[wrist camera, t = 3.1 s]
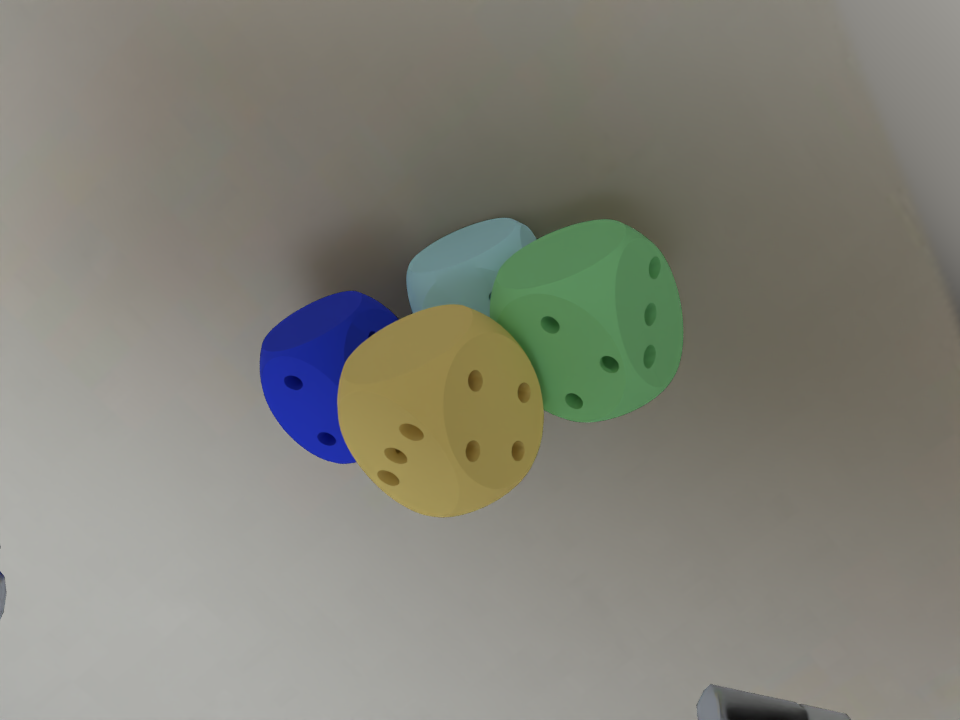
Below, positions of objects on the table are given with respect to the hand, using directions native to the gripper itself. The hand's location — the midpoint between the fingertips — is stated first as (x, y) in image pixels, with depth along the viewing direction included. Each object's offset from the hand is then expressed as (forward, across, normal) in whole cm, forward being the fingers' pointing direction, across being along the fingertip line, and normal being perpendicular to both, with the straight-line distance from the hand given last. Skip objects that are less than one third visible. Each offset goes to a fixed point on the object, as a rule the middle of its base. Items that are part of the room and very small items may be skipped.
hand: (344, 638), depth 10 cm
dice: (+10, 0, 0) cm, 10 cm away
